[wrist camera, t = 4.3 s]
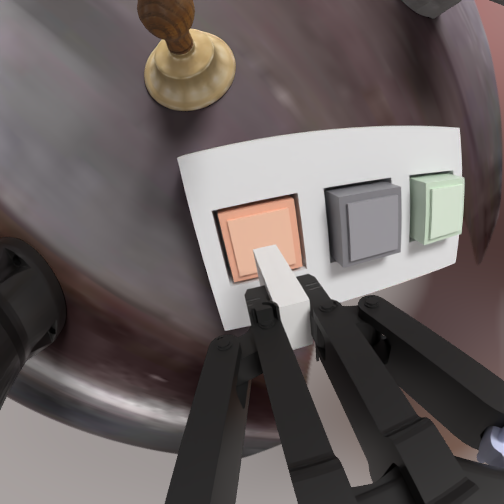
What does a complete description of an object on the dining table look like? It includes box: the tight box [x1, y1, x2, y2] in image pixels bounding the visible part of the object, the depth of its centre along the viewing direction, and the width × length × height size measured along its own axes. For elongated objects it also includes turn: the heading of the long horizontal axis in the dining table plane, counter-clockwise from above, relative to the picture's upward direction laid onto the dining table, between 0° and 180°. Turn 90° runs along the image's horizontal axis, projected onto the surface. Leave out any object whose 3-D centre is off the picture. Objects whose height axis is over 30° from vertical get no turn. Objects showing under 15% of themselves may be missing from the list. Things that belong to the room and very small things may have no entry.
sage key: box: [409, 173, 464, 245], centre depth 22 cm, size 6×6×3 cm
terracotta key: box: [218, 195, 303, 282], centre depth 23 cm, size 6×6×3 cm
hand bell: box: [137, 0, 236, 111], centre depth 13 cm, size 8×8×16 cm
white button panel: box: [177, 126, 462, 331], centre depth 25 cm, size 28×16×5 cm, turn 101°
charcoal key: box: [324, 181, 402, 268], centre depth 22 cm, size 6×6×3 cm
